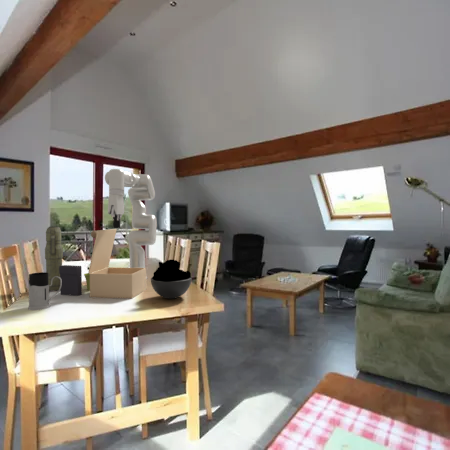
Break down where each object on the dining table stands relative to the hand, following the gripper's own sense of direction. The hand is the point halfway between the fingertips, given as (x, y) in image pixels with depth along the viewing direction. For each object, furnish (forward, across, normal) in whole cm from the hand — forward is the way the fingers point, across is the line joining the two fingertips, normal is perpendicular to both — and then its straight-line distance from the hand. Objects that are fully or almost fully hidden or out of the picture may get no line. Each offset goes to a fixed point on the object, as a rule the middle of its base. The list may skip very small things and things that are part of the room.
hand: (116, 228), depth 167 cm
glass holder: (+35, +27, -21) cm, 49 cm away
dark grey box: (+35, +4, -23) cm, 42 cm away
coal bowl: (+35, +6, +31) cm, 47 cm away
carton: (+34, -1, +1) cm, 35 cm away
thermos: (+35, -6, -39) cm, 53 cm away
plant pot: (+35, -9, -18) cm, 40 cm away
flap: (+12, -1, -8) cm, 14 cm away
